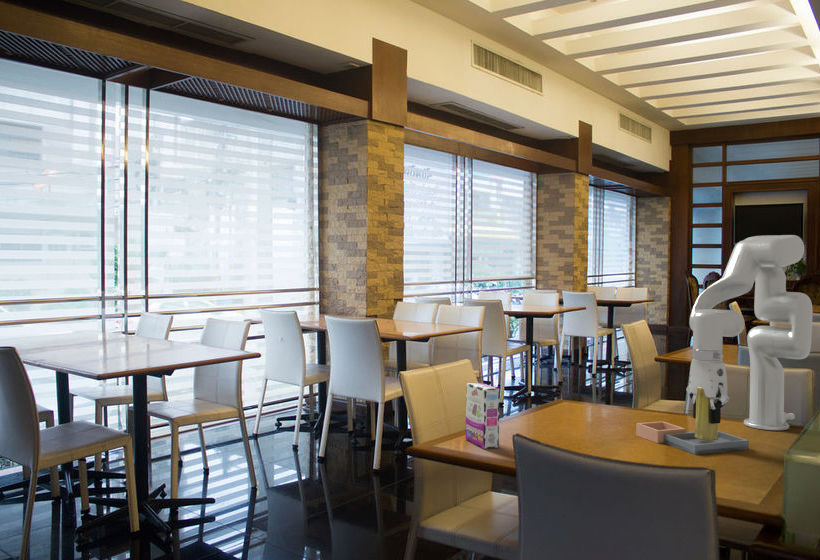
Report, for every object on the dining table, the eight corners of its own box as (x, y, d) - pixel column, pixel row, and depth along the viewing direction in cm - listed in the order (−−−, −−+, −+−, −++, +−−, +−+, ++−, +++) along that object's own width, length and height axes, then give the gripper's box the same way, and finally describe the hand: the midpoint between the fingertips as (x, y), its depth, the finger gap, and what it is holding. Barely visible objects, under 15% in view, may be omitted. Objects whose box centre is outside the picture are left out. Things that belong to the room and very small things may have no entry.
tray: (715, 438, 193) (716, 430, 193) (748, 449, 182) (748, 440, 182) (664, 443, 188) (664, 434, 188) (694, 454, 177) (694, 445, 176)
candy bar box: (500, 448, 182) (500, 388, 181) (484, 449, 180) (484, 389, 179) (480, 438, 192) (480, 381, 192) (464, 439, 190) (465, 382, 190)
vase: (720, 441, 182) (721, 389, 181) (696, 440, 183) (697, 388, 182) (715, 435, 187) (715, 385, 187) (692, 434, 189) (692, 384, 188)
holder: (663, 432, 200) (663, 421, 200) (685, 440, 191) (685, 428, 191) (636, 435, 197) (636, 423, 197) (657, 443, 188) (657, 431, 188)
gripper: (742, 359, 178) (741, 426, 178) (696, 351, 194) (695, 413, 194) (719, 360, 175) (718, 428, 176) (675, 352, 192) (674, 415, 192)
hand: (706, 420), depth 185 cm, fingers closed on vase, 5 cm apart
